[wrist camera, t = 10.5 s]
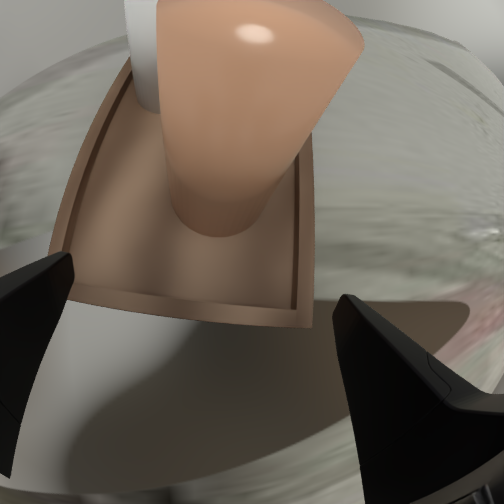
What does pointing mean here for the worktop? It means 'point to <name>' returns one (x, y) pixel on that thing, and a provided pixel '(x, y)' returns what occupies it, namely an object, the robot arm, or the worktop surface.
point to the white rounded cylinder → (143, 51)
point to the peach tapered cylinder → (243, 98)
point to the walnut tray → (178, 232)
